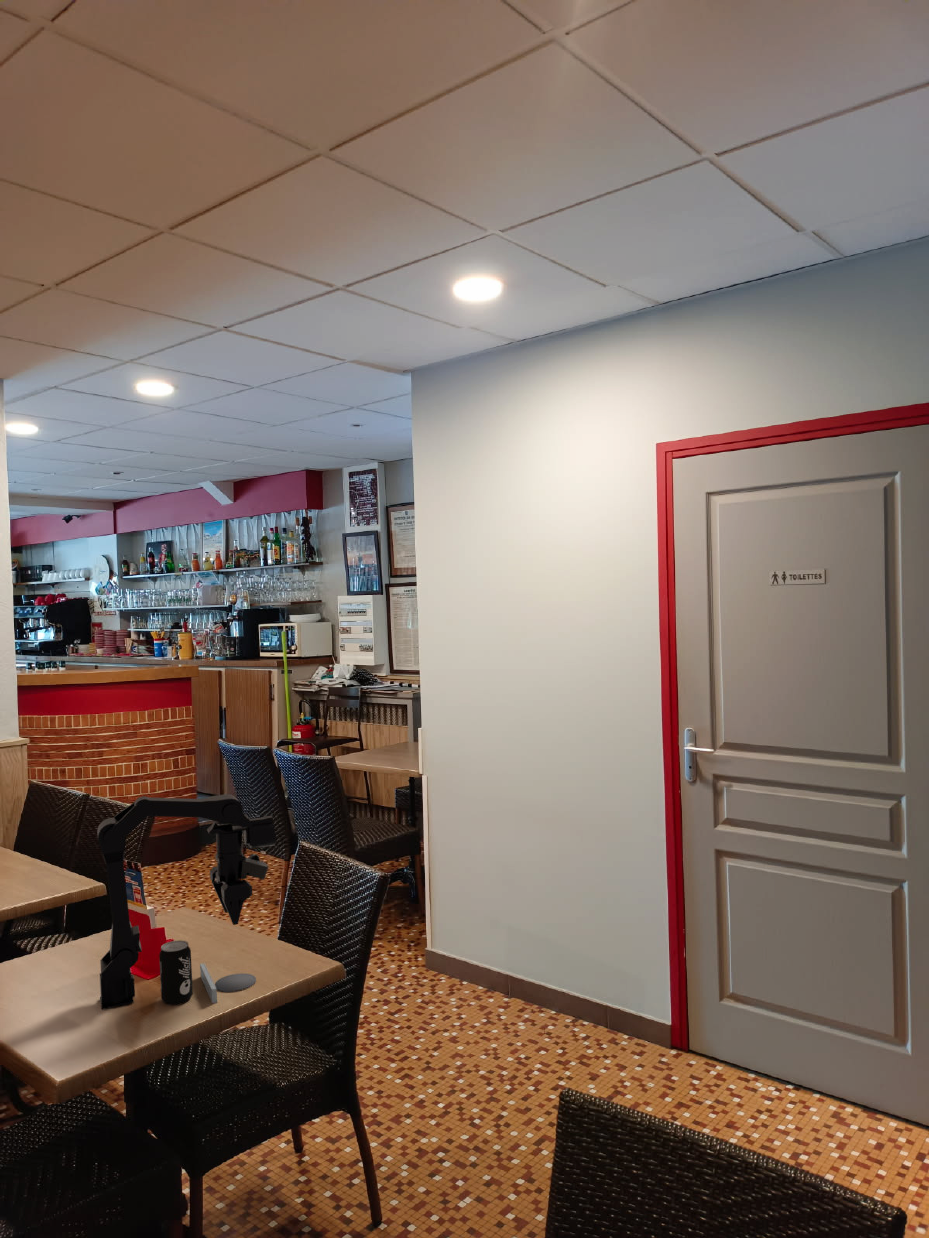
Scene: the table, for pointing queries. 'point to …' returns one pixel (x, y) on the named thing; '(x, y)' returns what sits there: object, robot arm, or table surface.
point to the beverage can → (175, 972)
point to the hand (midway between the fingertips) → (231, 918)
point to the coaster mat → (235, 982)
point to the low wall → (208, 983)
